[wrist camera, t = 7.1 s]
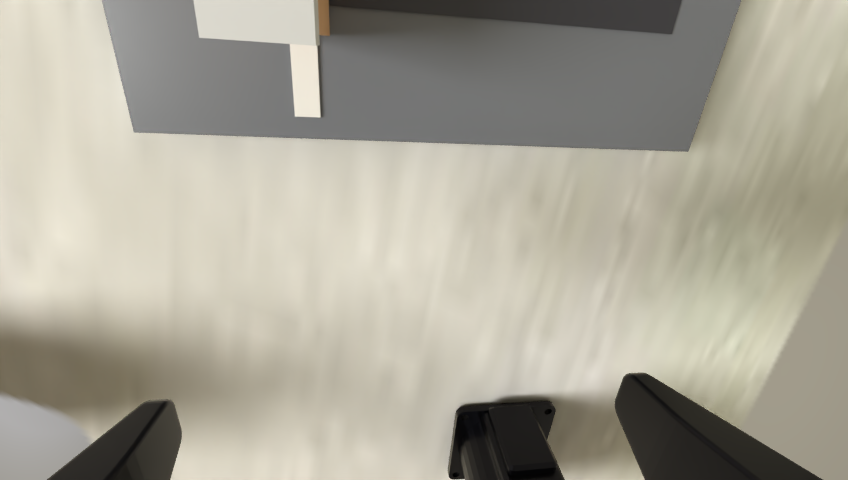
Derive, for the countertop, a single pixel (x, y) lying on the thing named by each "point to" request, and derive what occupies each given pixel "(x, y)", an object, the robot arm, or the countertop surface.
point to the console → (434, 72)
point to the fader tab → (264, 20)
